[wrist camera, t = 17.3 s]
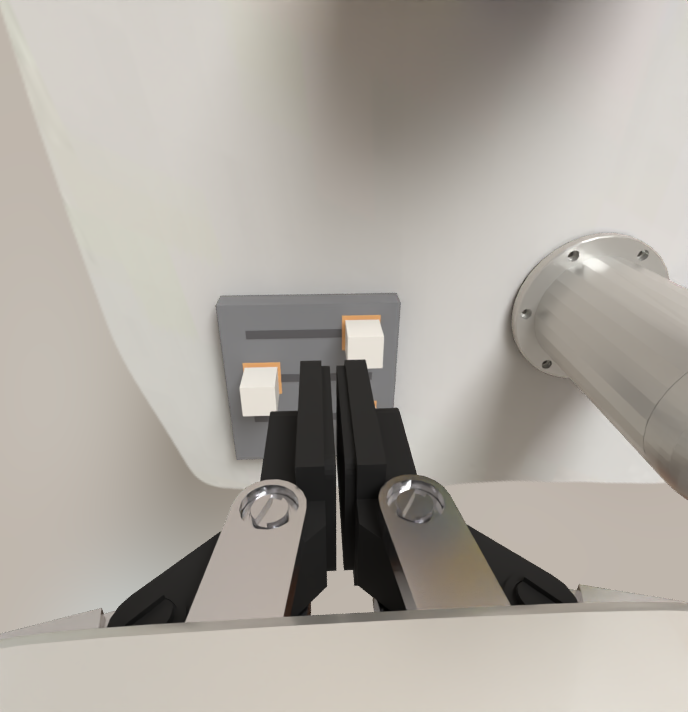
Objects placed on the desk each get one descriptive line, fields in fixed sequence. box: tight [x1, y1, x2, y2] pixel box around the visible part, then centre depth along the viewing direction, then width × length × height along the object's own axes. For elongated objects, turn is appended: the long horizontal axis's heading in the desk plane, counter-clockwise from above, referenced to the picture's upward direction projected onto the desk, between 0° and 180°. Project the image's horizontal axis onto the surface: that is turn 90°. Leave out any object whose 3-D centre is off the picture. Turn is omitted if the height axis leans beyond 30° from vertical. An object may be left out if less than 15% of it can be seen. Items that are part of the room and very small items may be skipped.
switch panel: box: [216, 293, 401, 460], centre depth 40 cm, size 14×15×2 cm
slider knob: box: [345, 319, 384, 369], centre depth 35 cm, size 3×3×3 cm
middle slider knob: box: [240, 367, 279, 416], centre depth 37 cm, size 3×3×3 cm
